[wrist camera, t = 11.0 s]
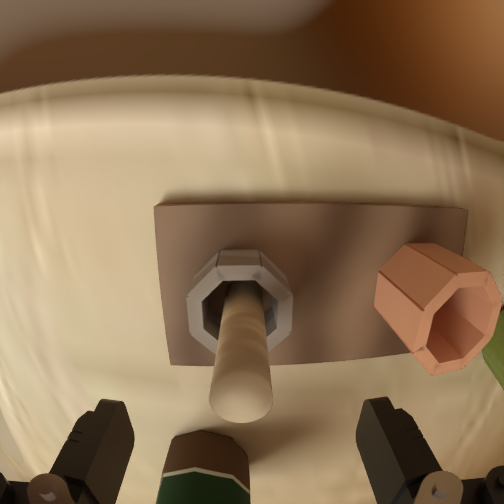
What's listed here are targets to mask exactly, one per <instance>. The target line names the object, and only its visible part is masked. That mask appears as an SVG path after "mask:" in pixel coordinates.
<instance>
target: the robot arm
mask: <svg viewBox="0 0 504 504" xmlns="http://www.w3.org/2000/svg"><path fill="white" fill-rule="evenodd" d="M67 439H68V440H67V441H66V442H65V444H64V445H63V447H62V449H61V451H60V453H59V455H58V457H57V459H56V461H55V463H54V464H53V466H52V468H51V470H50V472H49V473H45V474H40V475H38V476H36V477H34V478H33V479H32V480H31V481H30V482H17V481H7V479H6V478H5V477H4V476H3V474H2V473H0V504H115V503H116V500H117V497H118V493H119V490H120V487H121V484H122V481H123V478H124V475H125V471H126V468H127V465H128V462H129V459H130V456H131V453H132V450H133V447H134V440H135V437H134V431H133V428H132V425H131V422H130V419H129V416H128V412H127V409H126V406H125V404H124V402H123V401H116V400H108V399H101V400H100V401H99V403H98V405H97V407H96V409H95V411H94V412H93V411H87V412H86V413H85V414H84V415H82V416H81V417H80V418H79V419H78V420H77V422H76V423H75V425H74V427H73V429H72V432H70V434H69V436H68V438H67ZM356 443H357V447H358V450H359V452H360V455H361V458H362V461H363V464H364V467H365V469H366V472H367V475H368V478H369V481H370V484H371V487H372V490H373V493H374V495H375V498H376V501H377V504H504V466H498V467H495V468H493V469H492V470H491V471H490V472H489V473H488V474H487V476H486V477H485V478H477V479H467V480H461V479H459V477H458V476H456V475H455V474H453V473H451V472H448V471H443V470H442V469H441V467H440V465H439V463H438V461H437V460H436V458H435V456H434V454H433V452H432V451H431V449H430V447H429V445H428V444H427V442H426V440H425V438H423V435H422V433H421V431H420V429H419V430H418V426H417V424H416V422H415V421H414V419H413V417H412V416H411V415H409V414H408V413H407V412H406V411H404V410H403V409H402V408H400V409H394V407H393V405H392V403H391V401H390V400H389V398H388V397H380V398H373V399H367V400H365V401H364V403H363V407H362V411H361V414H360V418H359V422H358V425H357V429H356Z"/></svg>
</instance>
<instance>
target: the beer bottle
mask: <svg viewBox="0 0 504 504" xmlns="http://www.w3.org/2000/svg"><path fill="white" fill-rule="evenodd" d="M156 504H251V503H250V476H249V464H248V456H247V455H246V454H245V453H244V451H243V450H242V449H241V448H240V447H239V446H238V445H237V443H236V442H235V441H234V440H233V439H232V438H231V437H227V436H222V435H218V434H214V433H209V432H205V431H201V430H200V431H196V432H193V433H189V434H185V435H182V436H178V437H174V438H173V439H172V441H171V444H170V448H169V451H168V454H167V458H166V461H165V464H164V468H163V472H162V477H161V481H160V486H159V491H158V496H157V501H156Z"/></svg>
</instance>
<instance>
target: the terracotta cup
mask: <svg viewBox="0 0 504 504" xmlns="http://www.w3.org/2000/svg"><path fill="white" fill-rule="evenodd" d="M379 270H380V271H381V272H378V277H377V285H376V293H375V300H374V308H375V309H376V310H377V311H378V313H379V314H380V315H381V316H382V317H383V319H384V320H385V321H386V322H387V323H388V325H389V326H390V327H391V328H392V329H393V331H394V332H395V333H396V334H397V336H398V337H399V338H400V339H401V340H402V342H403V343H404V344H405V345H406V347H407V348H408V349H409V350H410V352H411V353H412V354H413V355H414V356H415V358H416V359H417V360H418V361H419V362H420V363H421V365H422V366H423V367H424V368H425V369H426V370H427V372H428V373H429V374H430V375H436V374H441V373H445V372H449V371H454V370H458V369H462V368H463V366H464V367H465V366H466V365H467V364H468V363H469V362H470V361H471V360H472V359H473V358H474V357H475V356H476V355H477V354H478V353H479V352H480V351H481V350H482V349H483V347H484V346H485V345H486V344H487V343H488V342H489V341H490V340H491V338H490V337H493V333H494V330H495V327H496V323H497V320H498V317H499V313H500V309H501V305H502V302H503V301H502V299H503V298H502V296H501V294H500V291H499V289H498V287H497V285H496V283H495V281H494V278H493V276H492V274H491V272H489V271H488V270H486V269H484V268H482V267H480V266H478V265H477V264H475V263H473V262H471V261H469V260H467V259H465V258H463V257H461V256H459V255H457V254H455V253H454V252H452V251H450V250H448V249H446V248H444V247H442V246H440V245H438V244H436V243H406V245H405V244H404V245H403V246H402V247H401V248H400V249H399V250H398V251H397V252H396V253H395V254H394V255H393V256H392V257H391V259H390V260H389V261H388V262H387V263H386V264H385V265H384V266H383V267H382V268H381V269H379Z"/></svg>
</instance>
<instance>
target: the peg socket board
mask: <svg viewBox="0 0 504 504" xmlns="http://www.w3.org/2000/svg"><path fill="white" fill-rule="evenodd" d="M467 216H468V210H465V209H462V208H453V207H437V206H420V205H399V204H374V203H339V202H215V203H179V204H158V205H156V206H154V220H155V235H156V248H157V259H158V270H159V280H160V290H161V299H162V307H163V315H164V323H165V331H166V338H167V345H168V351H169V358H170V364H171V365H182V366H214V364H215V358H216V351H217V345H218V339H219V333H220V326H221V320H222V314H223V308H224V302H225V296H226V290H227V287H228V285H229V284H230V283H231V282H232V281H236V280H255V281H256V282H257V283H258V284H259V285H260V287H261V290H262V299H263V308H264V318H265V328H266V337H267V347H268V357H269V365H291V364H308V363H322V362H334V361H345V360H355V359H365V358H373V357H382V356H389V355H397V354H404V353H410V350H409V349H408V348H407V347H406V345H405V344H404V343H403V342H402V340H401V339H400V338H399V337H398V336H397V334H396V333H395V332H394V331H393V329H392V328H391V327H390V326H389V325H388V323H387V322H386V321H385V320H384V319H383V317H382V316H381V315H380V314H379V313H378V311H377V310H376V309H375V308H374V300H375V293H376V285H377V277H378V272H381V271H380V270H379V269H381V268H382V267H383V266H384V265H385V264H386V263H387V262H388V261H389V260H390V259H391V257H392V256H393V255H394V254H395V253H396V252H397V251H398V250H399V249H400V248H401V247H402V246H403V245H404V244H405V245H406V243H436V244H438V245H440V246H442V247H444V248H446V249H448V250H450V251H452V252H454V253H455V254H457V255H459V256H461V257H462V255H463V249H464V241H465V234H466V225H467Z"/></svg>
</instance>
